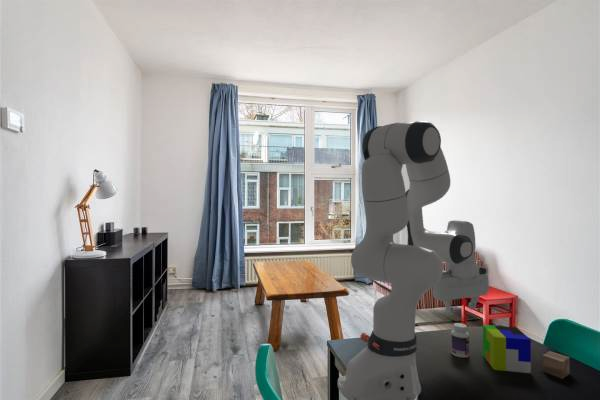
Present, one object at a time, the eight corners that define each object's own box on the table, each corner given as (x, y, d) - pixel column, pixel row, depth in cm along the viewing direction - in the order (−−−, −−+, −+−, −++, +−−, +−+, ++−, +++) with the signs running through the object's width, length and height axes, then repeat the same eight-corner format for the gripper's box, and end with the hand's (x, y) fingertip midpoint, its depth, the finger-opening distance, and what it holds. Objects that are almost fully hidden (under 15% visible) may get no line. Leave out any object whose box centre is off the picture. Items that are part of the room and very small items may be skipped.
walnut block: (562, 379, 98) (562, 361, 98) (542, 371, 102) (542, 355, 102) (569, 374, 101) (569, 357, 101) (549, 367, 105) (549, 351, 105)
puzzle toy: (530, 373, 101) (530, 339, 101) (493, 369, 103) (493, 336, 103) (516, 358, 111) (516, 327, 111) (482, 355, 113) (483, 324, 113)
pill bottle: (470, 359, 110) (470, 329, 110) (452, 356, 111) (452, 326, 111) (467, 352, 115) (467, 323, 115) (450, 349, 117) (450, 321, 117)
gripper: (441, 273, 107) (442, 317, 107) (492, 268, 113) (492, 310, 114) (428, 269, 113) (428, 311, 113) (476, 265, 119) (476, 304, 120)
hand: (460, 310), depth 113 cm, fingers open, 8 cm apart
